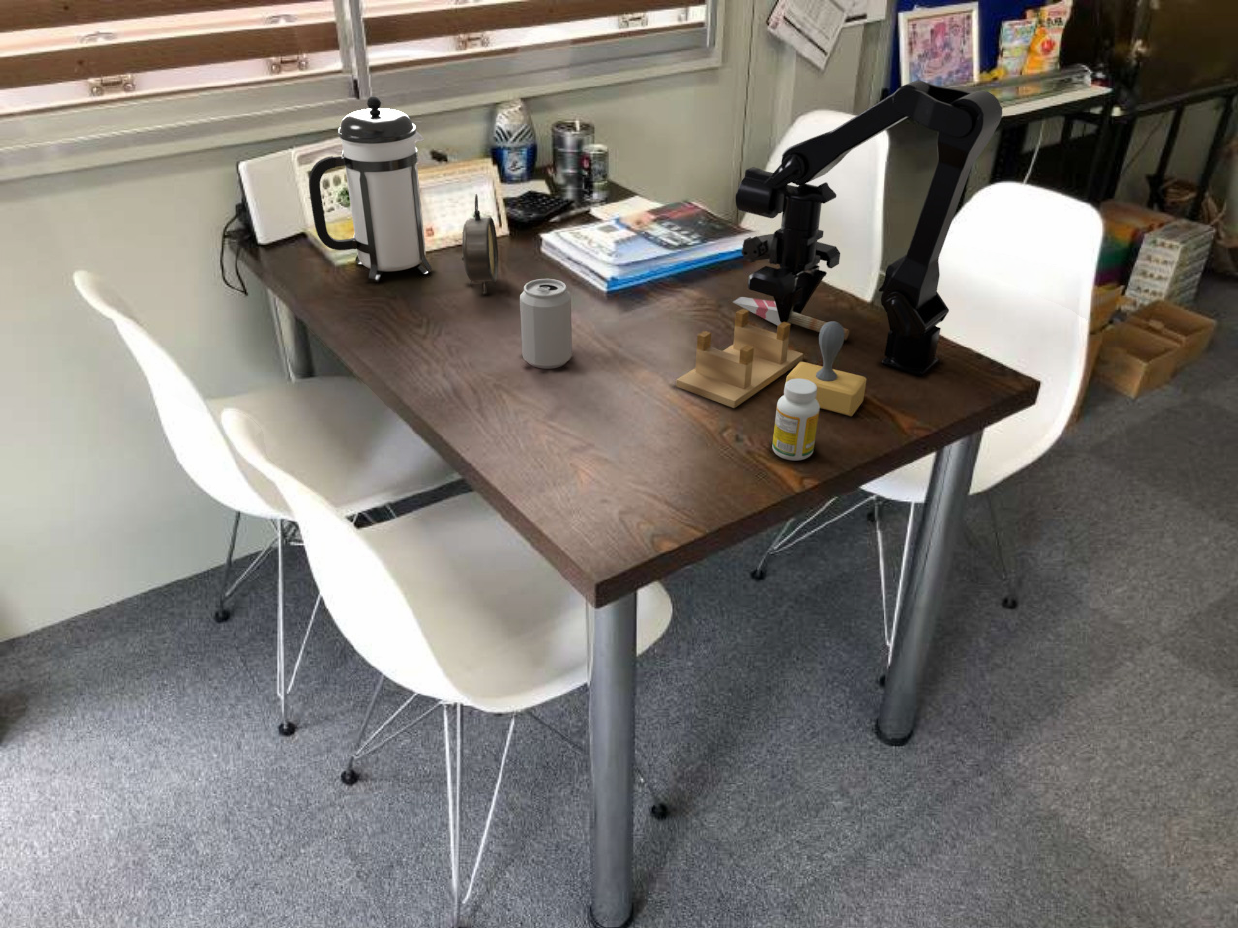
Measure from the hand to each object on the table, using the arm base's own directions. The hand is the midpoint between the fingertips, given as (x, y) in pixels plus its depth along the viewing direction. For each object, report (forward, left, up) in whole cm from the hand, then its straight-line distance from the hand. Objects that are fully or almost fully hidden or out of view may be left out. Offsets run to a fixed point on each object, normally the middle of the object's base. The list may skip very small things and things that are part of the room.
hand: (790, 318), depth 163 cm
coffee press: (+68, +26, -2) cm, 73 cm away
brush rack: (-3, +19, -1) cm, 19 cm away
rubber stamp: (-16, +18, -2) cm, 25 cm away
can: (+22, +34, -2) cm, 41 cm away
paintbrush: (0, 0, -1) cm, 1 cm away
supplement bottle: (-20, +33, -2) cm, 39 cm away
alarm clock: (+50, +20, -2) cm, 54 cm away
